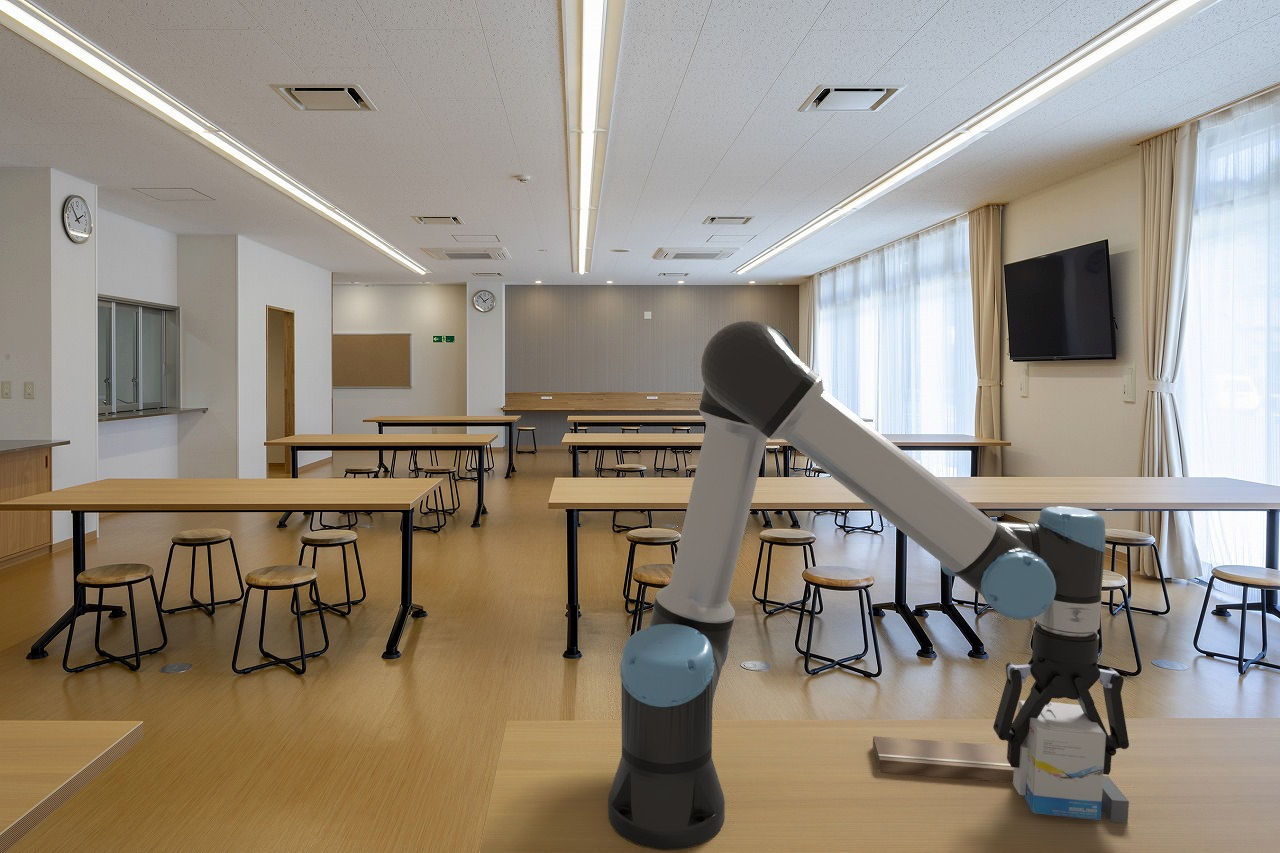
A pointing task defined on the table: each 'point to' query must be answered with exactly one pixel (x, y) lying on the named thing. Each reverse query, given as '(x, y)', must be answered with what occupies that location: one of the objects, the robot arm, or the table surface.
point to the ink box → (1064, 762)
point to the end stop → (1114, 802)
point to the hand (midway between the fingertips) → (1056, 792)
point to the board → (942, 759)
